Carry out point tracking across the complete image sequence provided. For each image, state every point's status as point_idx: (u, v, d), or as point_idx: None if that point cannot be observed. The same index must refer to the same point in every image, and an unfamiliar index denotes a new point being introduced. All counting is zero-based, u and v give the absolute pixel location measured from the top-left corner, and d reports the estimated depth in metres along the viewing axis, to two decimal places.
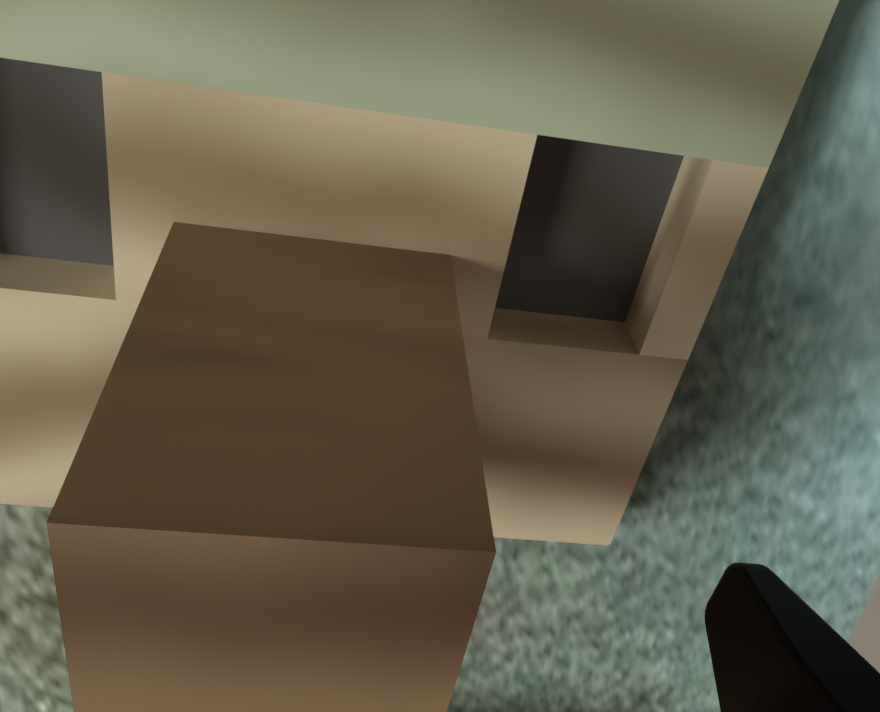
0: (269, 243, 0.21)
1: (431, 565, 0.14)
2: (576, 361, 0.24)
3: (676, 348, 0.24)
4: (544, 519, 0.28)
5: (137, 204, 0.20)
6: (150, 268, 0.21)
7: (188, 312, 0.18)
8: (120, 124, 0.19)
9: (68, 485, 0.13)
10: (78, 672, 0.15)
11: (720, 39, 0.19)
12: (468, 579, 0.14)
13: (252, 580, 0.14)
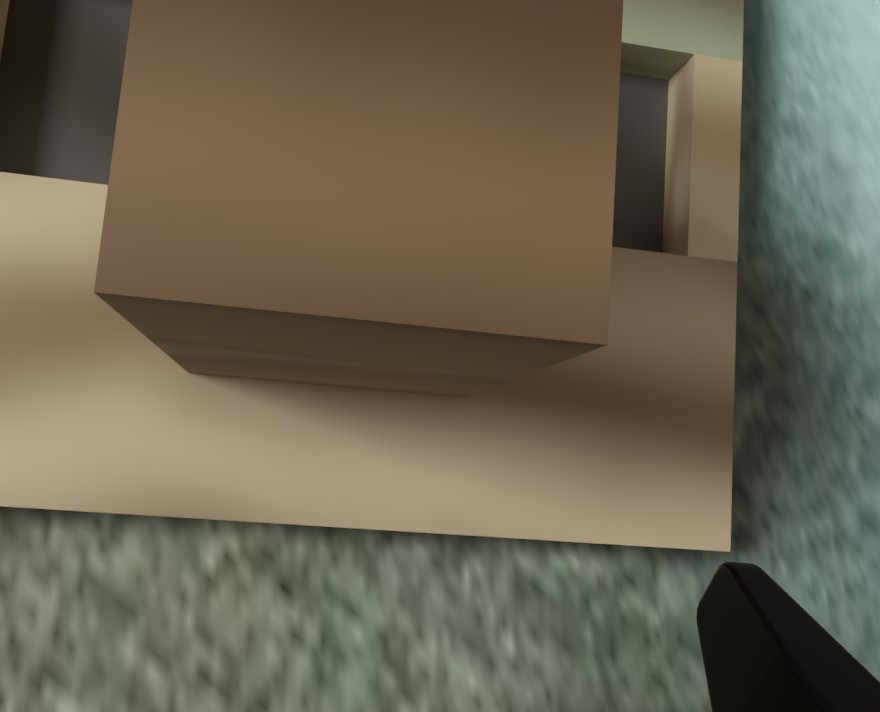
0: None
1: None
2: (627, 265, 0.23)
3: (722, 247, 0.24)
4: (640, 506, 0.22)
5: None
6: None
7: None
8: None
9: None
10: (137, 66, 0.11)
11: None
12: None
13: None
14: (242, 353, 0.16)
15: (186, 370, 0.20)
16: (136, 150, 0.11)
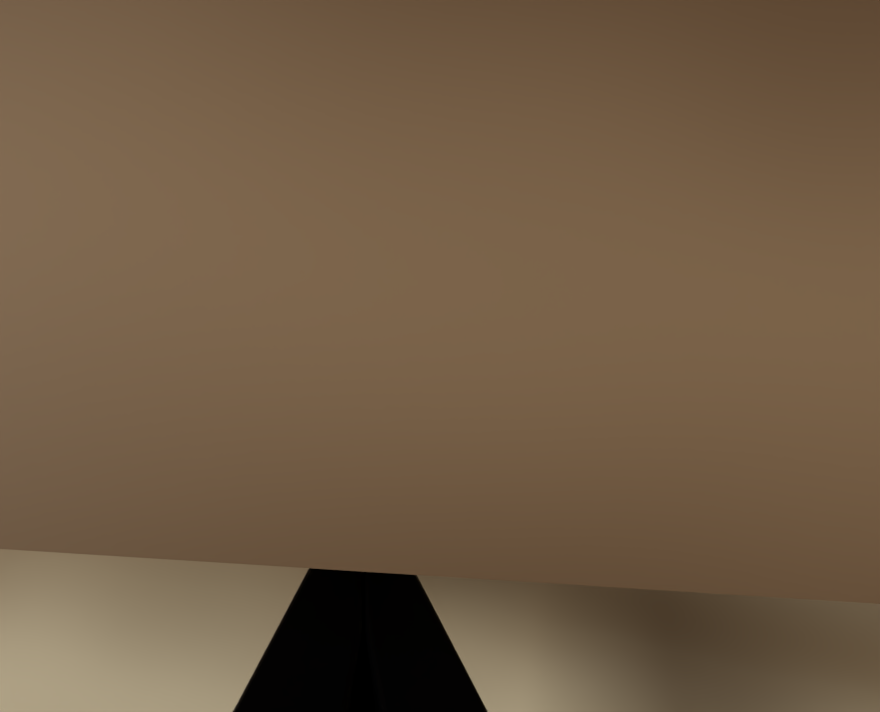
0: None
1: None
2: None
3: None
4: None
5: None
6: None
7: None
8: None
9: None
10: None
11: None
12: None
13: None
14: None
15: None
16: None
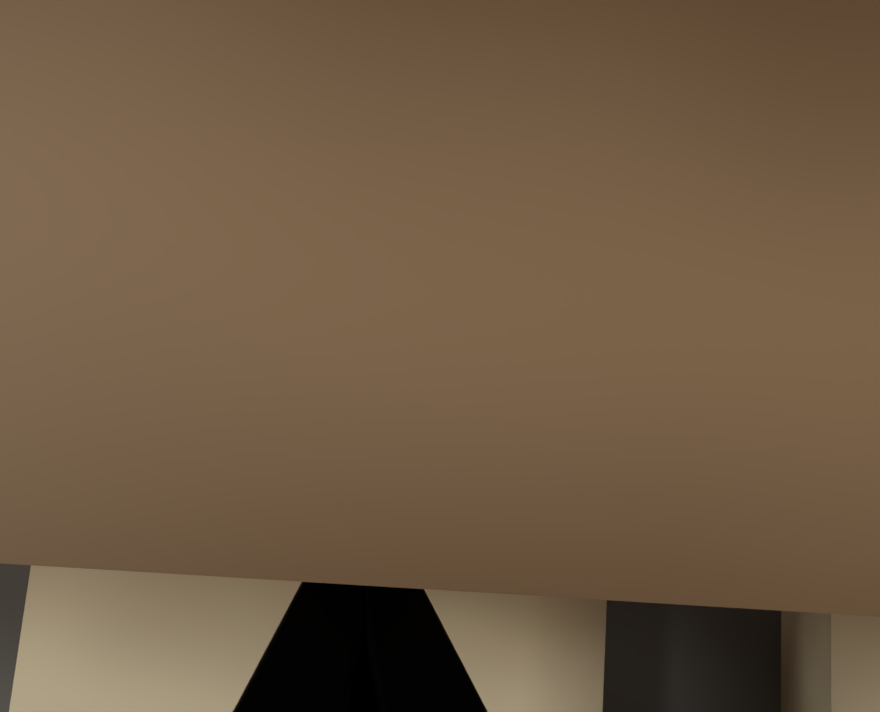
0: None
1: None
2: None
3: None
4: None
5: (71, 573, 0.14)
6: (71, 686, 0.14)
7: None
8: None
9: None
10: None
11: None
12: None
13: None
14: None
15: None
16: None
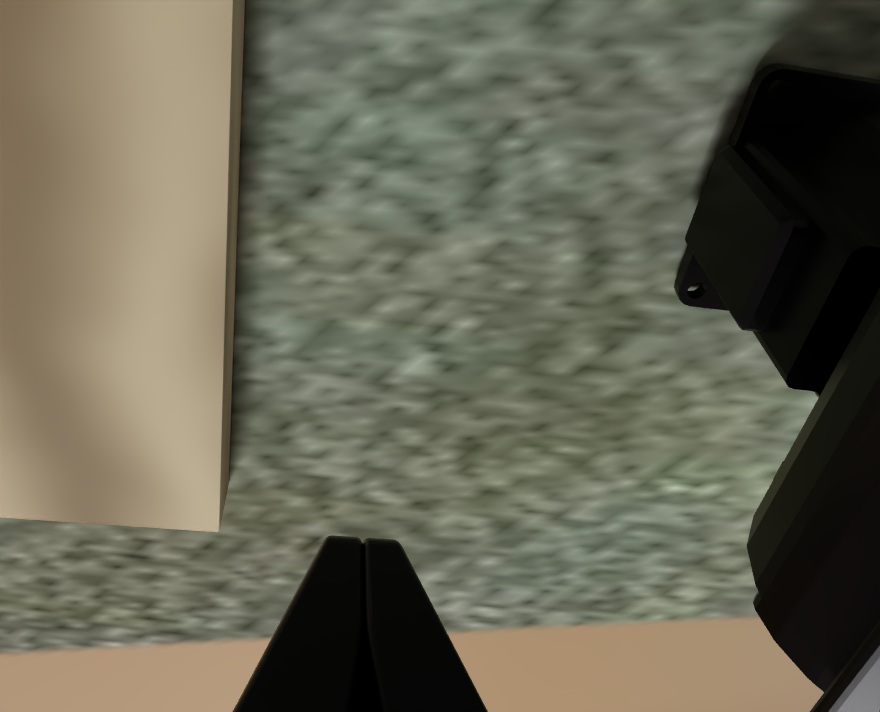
0: None
1: None
2: None
3: None
4: None
5: None
6: None
7: None
8: None
9: None
10: None
11: None
12: None
13: None
14: None
15: None
16: None
